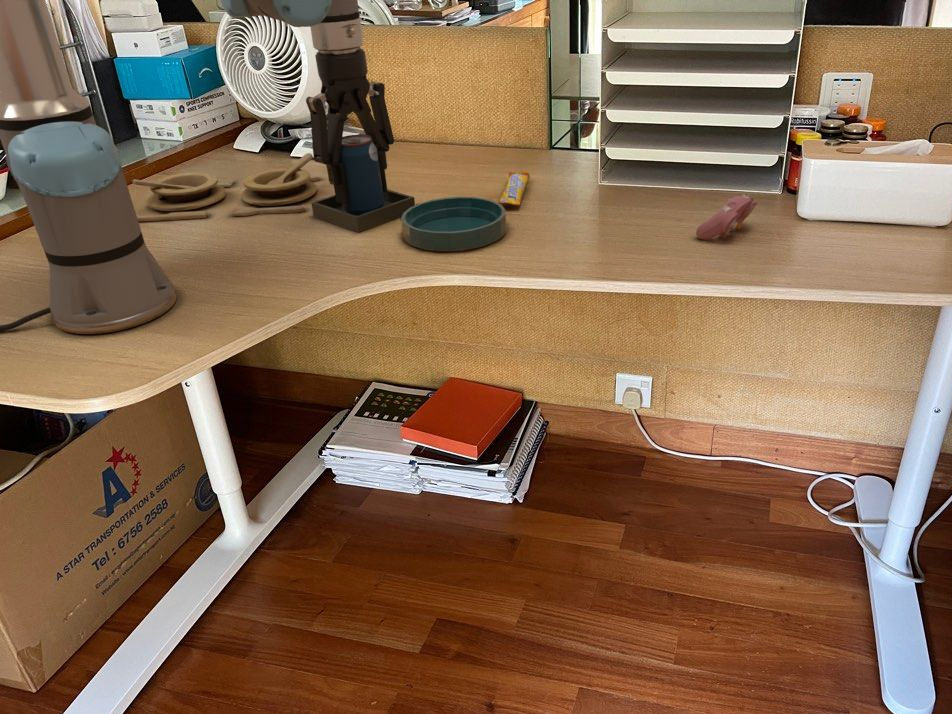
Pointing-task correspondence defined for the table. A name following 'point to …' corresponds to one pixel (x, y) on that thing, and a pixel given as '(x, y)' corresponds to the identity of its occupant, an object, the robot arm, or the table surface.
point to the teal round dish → (454, 223)
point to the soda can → (361, 174)
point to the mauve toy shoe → (727, 218)
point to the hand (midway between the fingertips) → (362, 196)
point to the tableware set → (208, 189)
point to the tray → (337, 214)
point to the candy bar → (514, 189)
